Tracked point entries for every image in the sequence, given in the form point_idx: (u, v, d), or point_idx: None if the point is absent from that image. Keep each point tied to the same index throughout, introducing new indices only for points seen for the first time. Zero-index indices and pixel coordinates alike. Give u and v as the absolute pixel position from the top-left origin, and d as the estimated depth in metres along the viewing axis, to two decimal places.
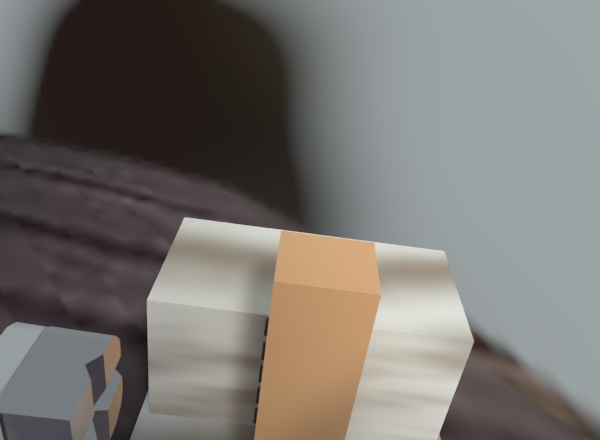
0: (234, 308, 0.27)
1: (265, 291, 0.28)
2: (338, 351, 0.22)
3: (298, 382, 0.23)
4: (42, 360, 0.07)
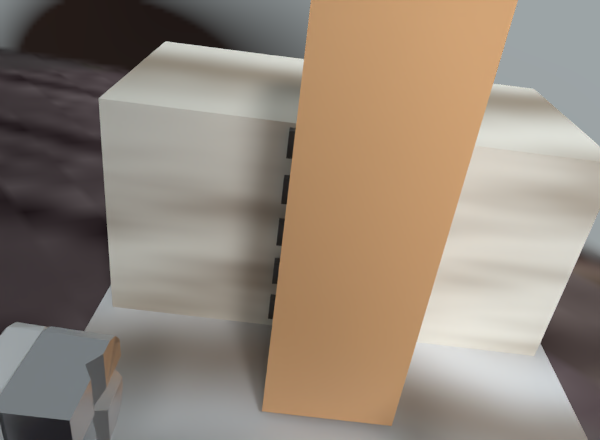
0: (238, 113, 0.17)
1: (286, 103, 0.18)
2: (433, 108, 0.12)
3: (355, 183, 0.13)
4: (42, 360, 0.07)
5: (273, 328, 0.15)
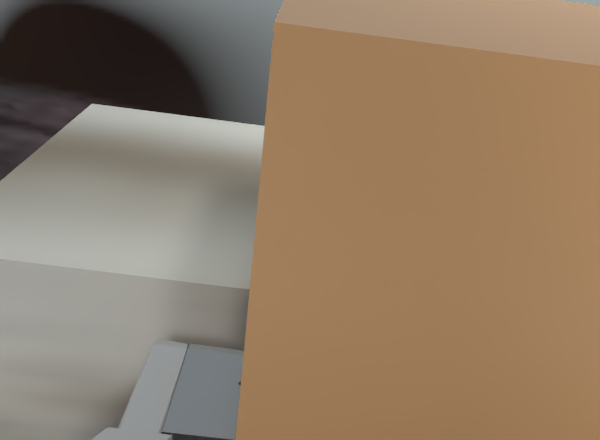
0: (166, 271, 0.10)
1: (253, 235, 0.11)
2: (568, 423, 0.05)
3: None
4: (196, 378, 0.07)
5: None
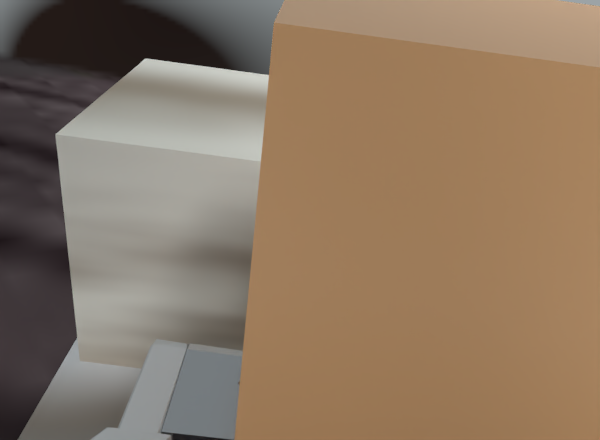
0: (219, 152, 0.14)
1: None
2: (565, 422, 0.05)
3: None
4: (196, 379, 0.07)
5: None
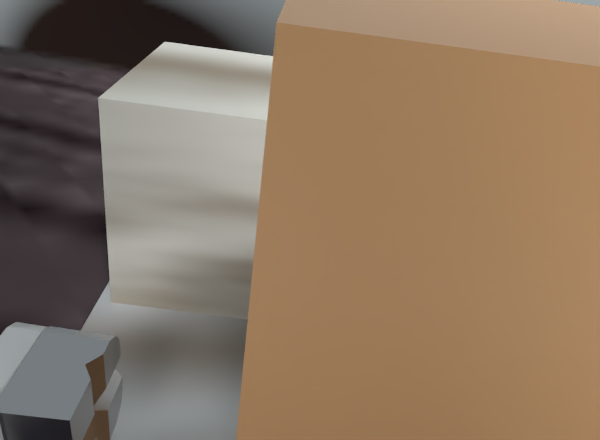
0: (235, 113, 0.17)
1: None
2: (567, 422, 0.05)
3: None
4: (42, 360, 0.07)
5: None
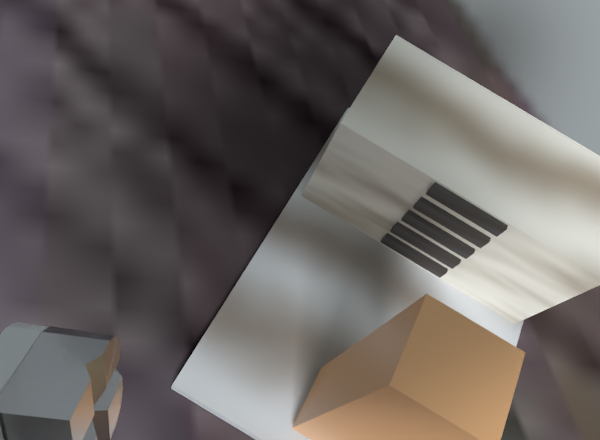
0: (411, 161, 0.29)
1: (443, 154, 0.29)
2: None
3: (372, 426, 0.22)
4: (42, 360, 0.07)
5: (309, 420, 0.26)
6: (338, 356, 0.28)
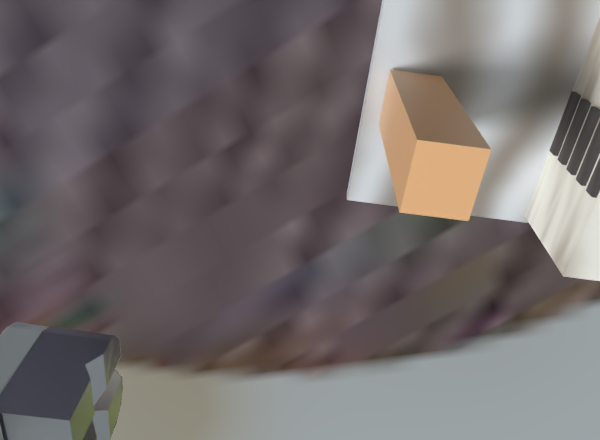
0: None
1: None
2: (397, 168, 0.30)
3: (398, 132, 0.31)
4: (42, 360, 0.07)
5: (395, 83, 0.35)
6: (449, 89, 0.35)
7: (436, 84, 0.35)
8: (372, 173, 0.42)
